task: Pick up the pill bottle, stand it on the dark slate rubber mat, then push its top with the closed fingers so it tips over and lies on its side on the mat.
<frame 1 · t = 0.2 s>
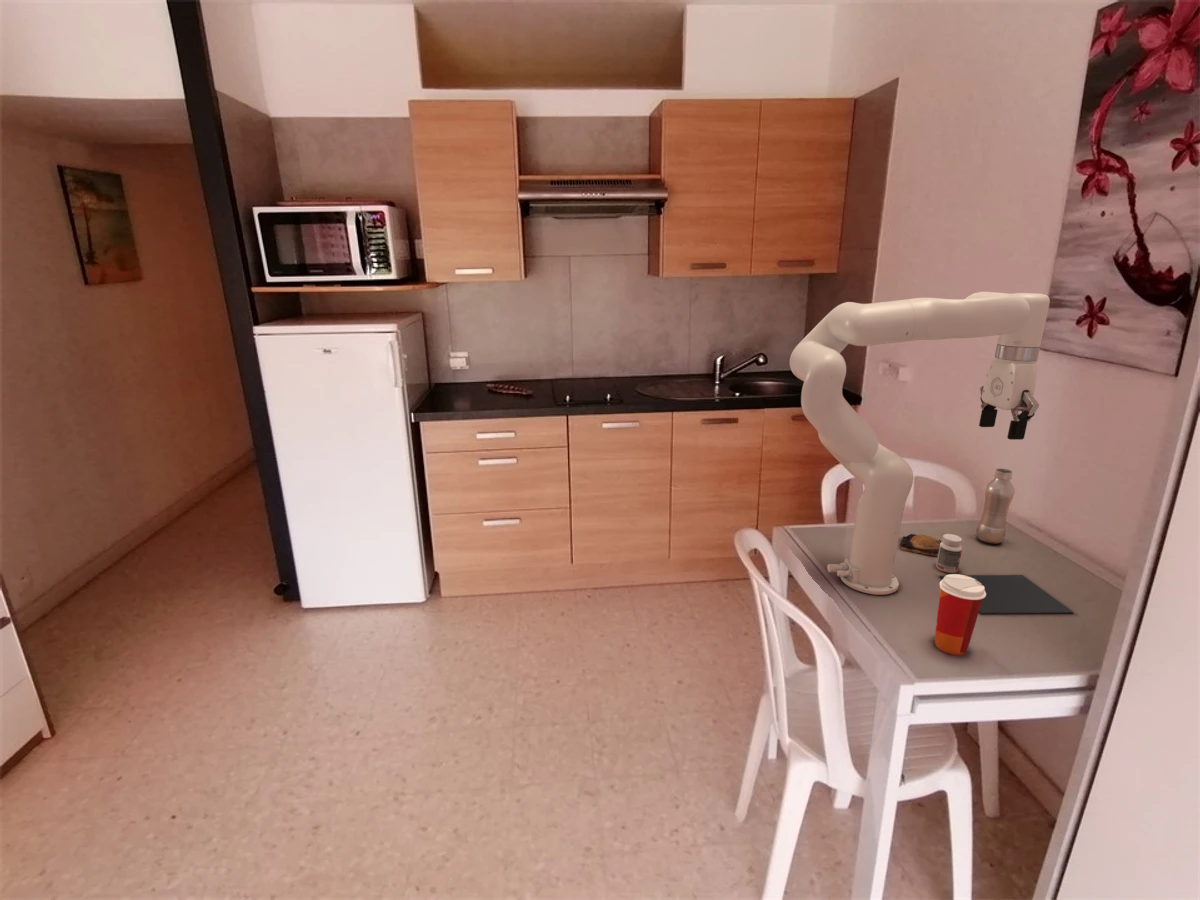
hand: (1000, 432, 133), 36 cm above the table, tool pointing down, fingers open, 9 cm apart
bread roll: (922, 548, 160), on the table
mat: (1002, 594, 138), on the table
pill bottle: (946, 569, 150), on the table
paper cup: (949, 647, 120), on the table
plastic bottle: (988, 541, 164), on the table
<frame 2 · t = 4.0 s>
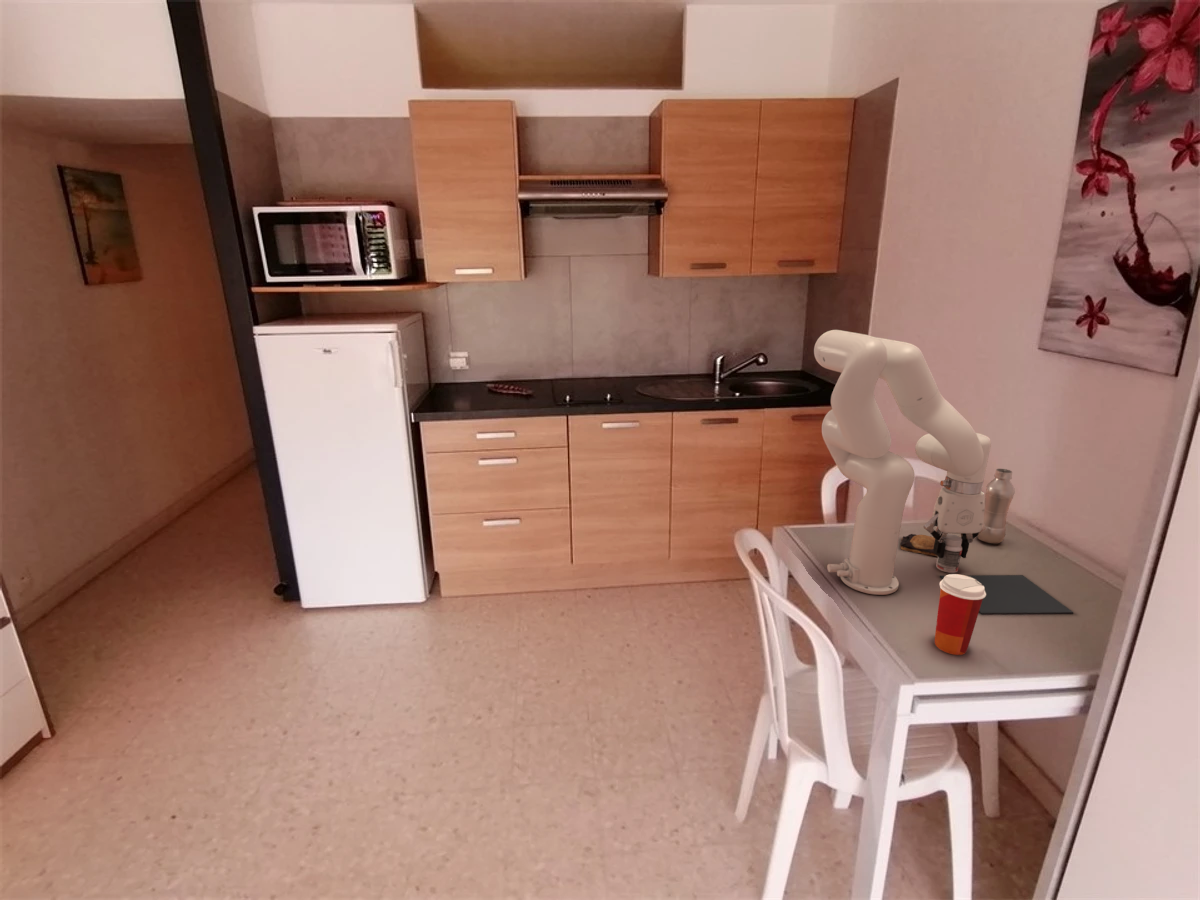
hand: (949, 554, 148), 4 cm above the table, tool pointing down, fingers closed on pill bottle, 4 cm apart
pill bottle: (946, 569, 150), on the table, touching gripper
everything else where it was.
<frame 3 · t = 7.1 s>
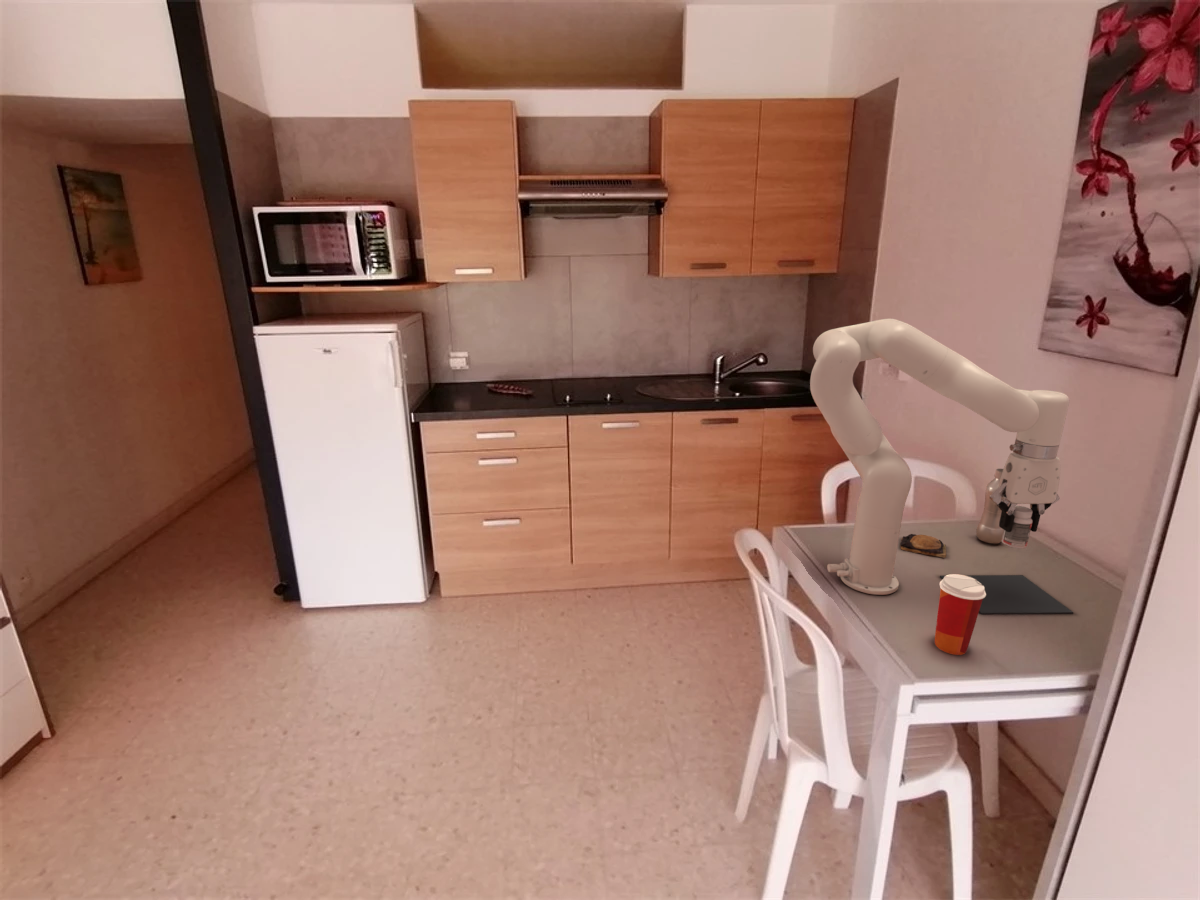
hand: (1017, 528, 133), 16 cm above the table, tool pointing down, fingers closed on pill bottle, 4 cm apart
pill bottle: (1013, 544, 135), point 12 cm above the table, touching gripper
everything else where it was.
when the fingers open (4 cm above the table, at t = 10.1 s): pill bottle stays where it is, resting on mat.
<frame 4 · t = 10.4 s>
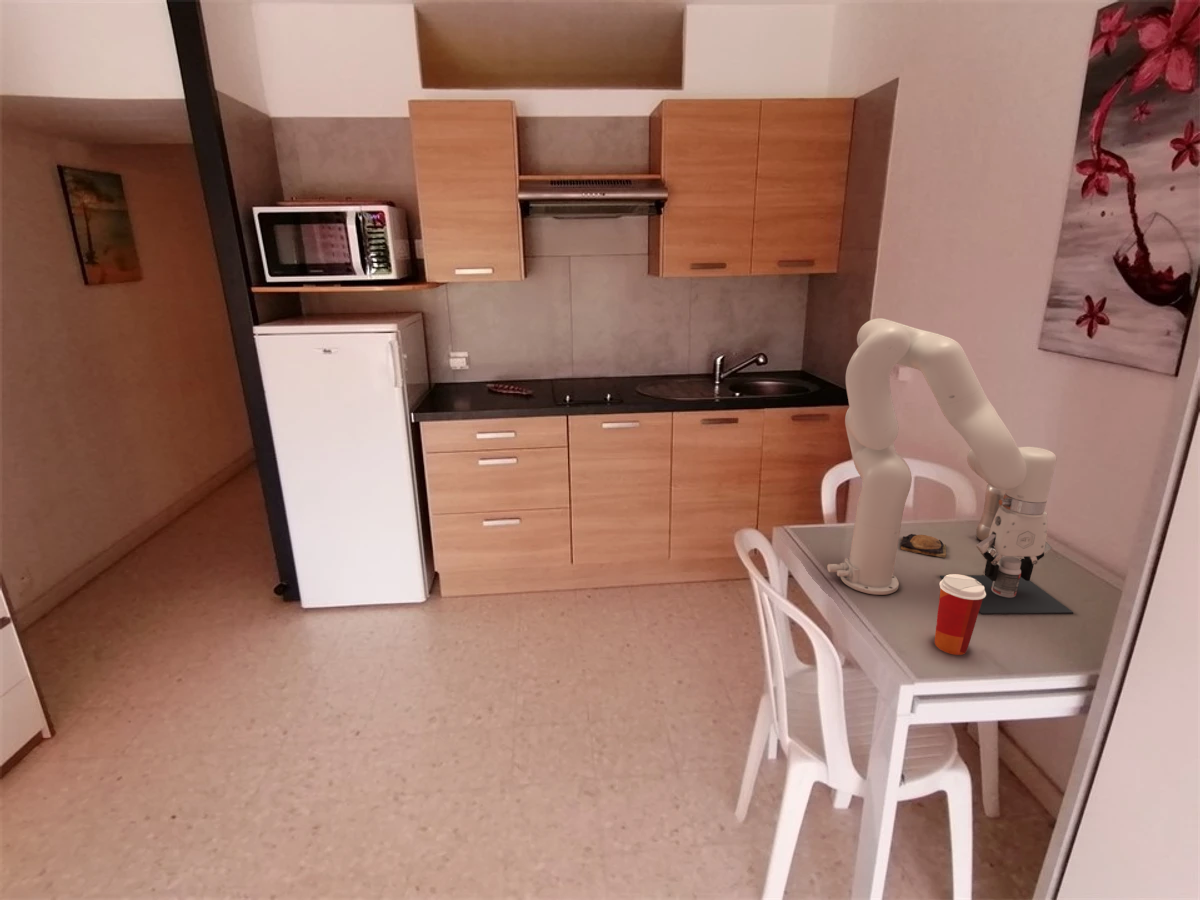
hand: (1006, 577, 137), 4 cm above the table, tool pointing down, fingers open, 6 cm apart
pill bottle: (1003, 593, 138), resting on mat
everything else where it was.
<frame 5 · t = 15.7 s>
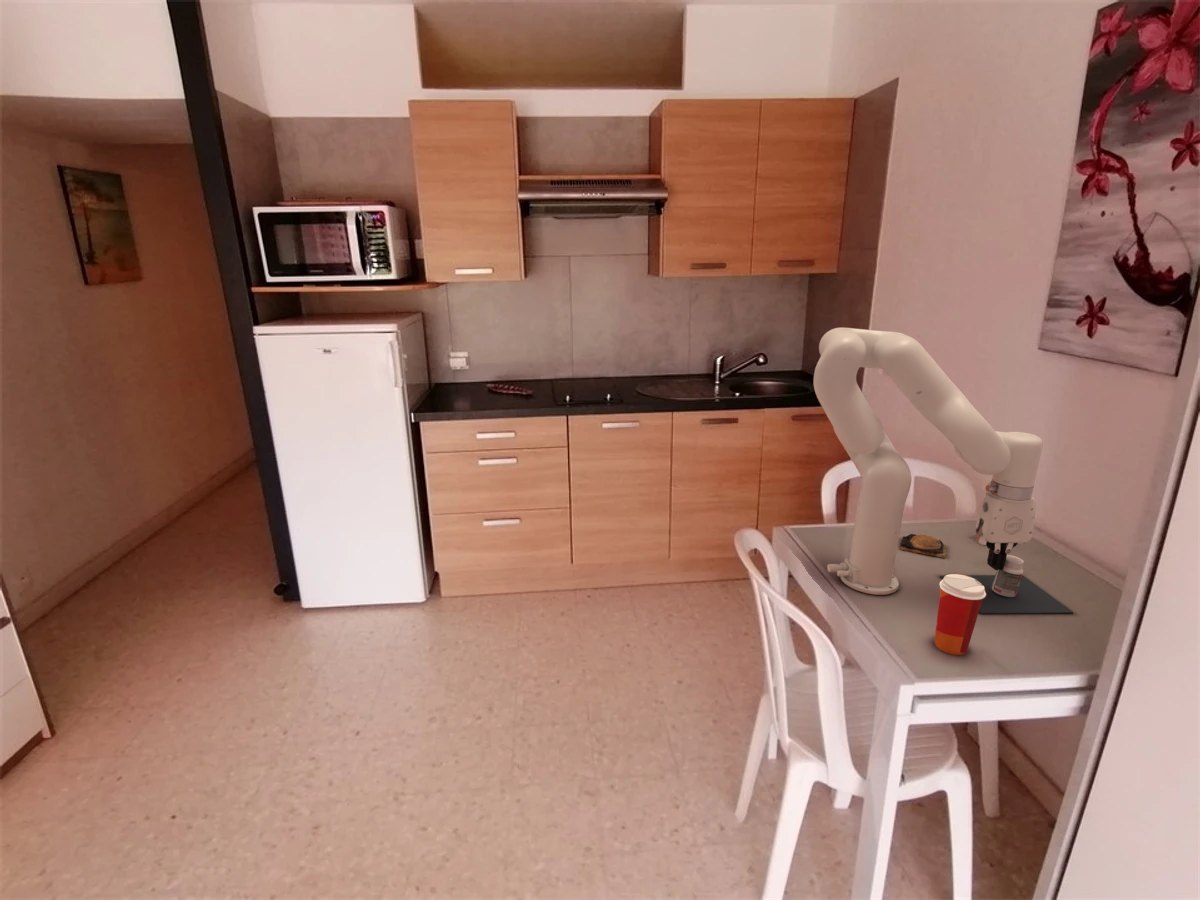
hand: (995, 567, 136), 7 cm above the table, tool pointing down, fingers closed
pill bottle: (1003, 592, 138), resting on mat, touching gripper
everything else where it was.
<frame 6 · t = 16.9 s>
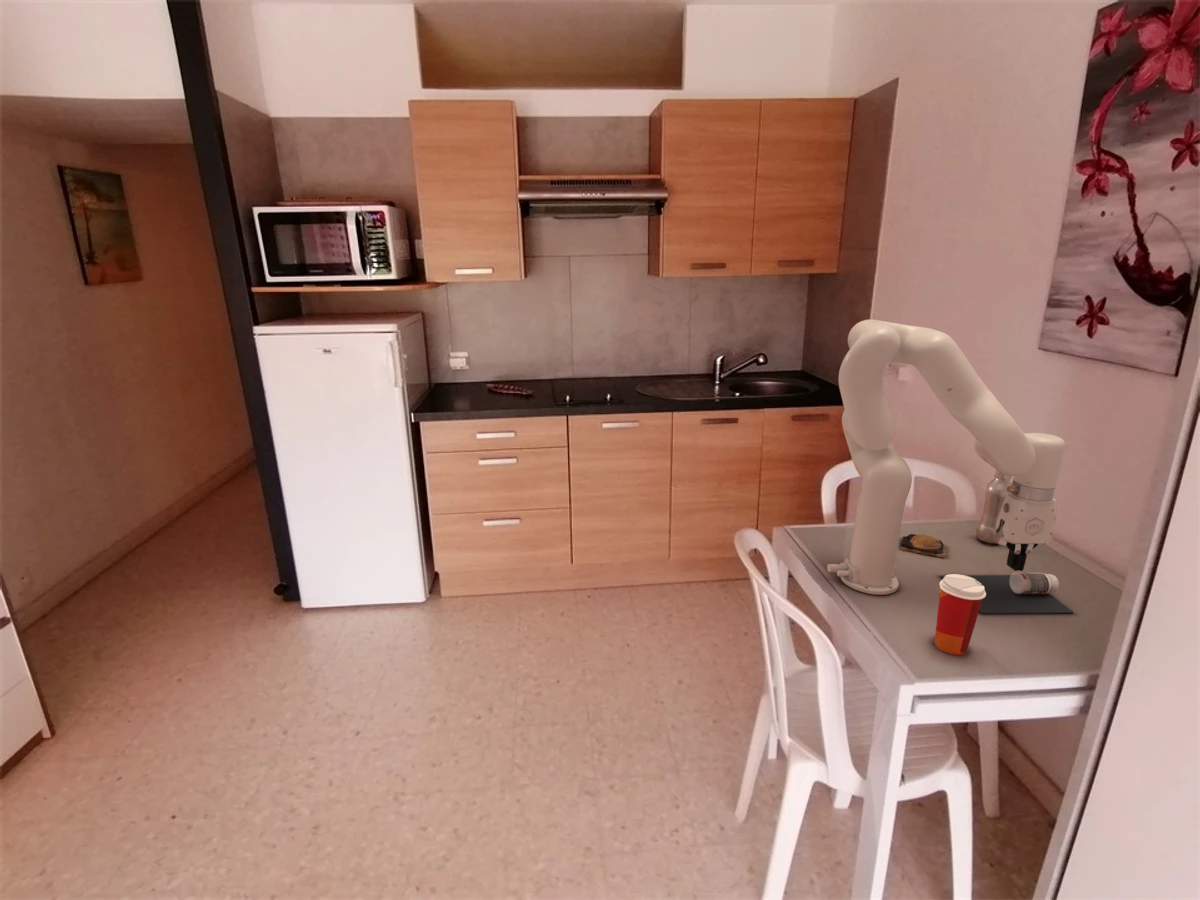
hand: (1014, 567, 136), 7 cm above the table, tool pointing down, fingers closed
pill bottle: (1014, 583, 138), point 3 cm above the table, touching mat
everything else where it was.
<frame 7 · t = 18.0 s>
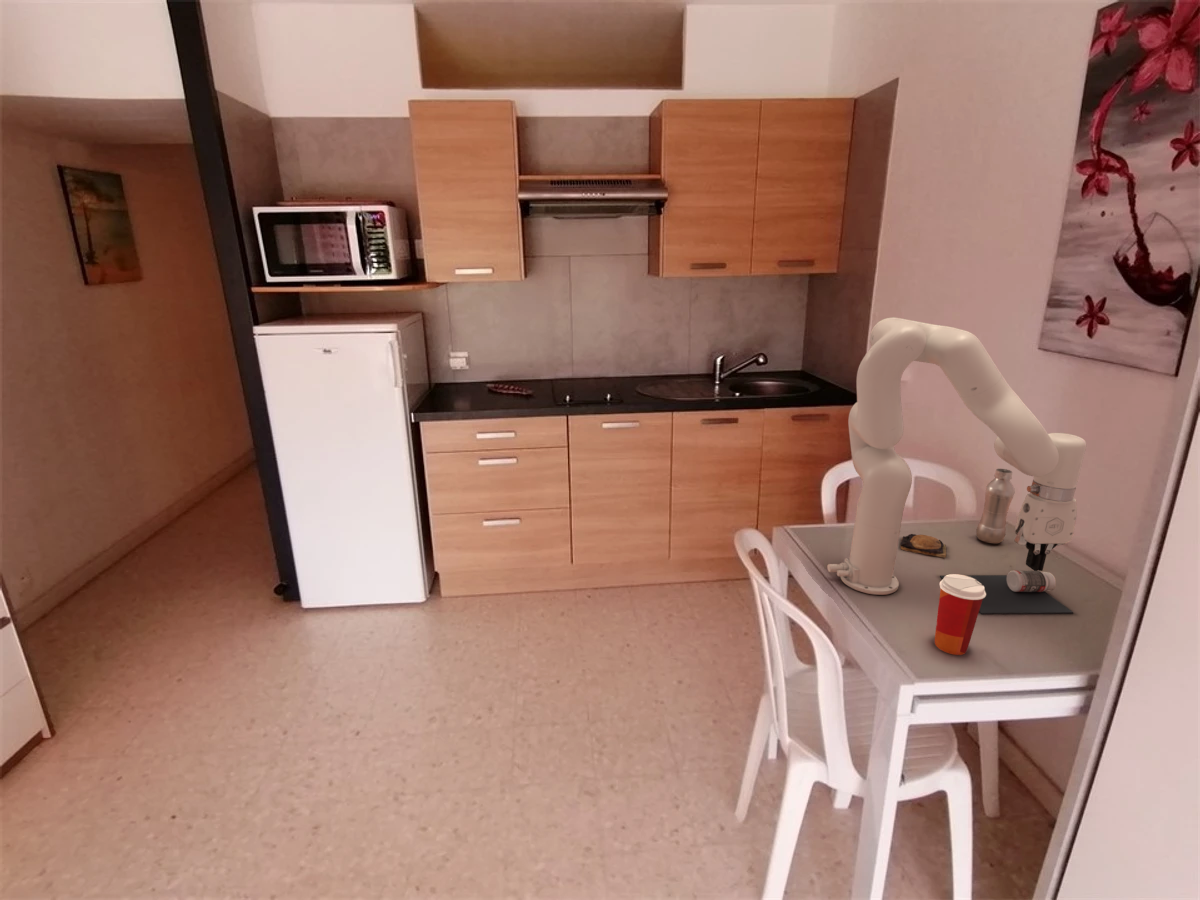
hand: (1033, 567, 136), 7 cm above the table, tool pointing down, fingers closed
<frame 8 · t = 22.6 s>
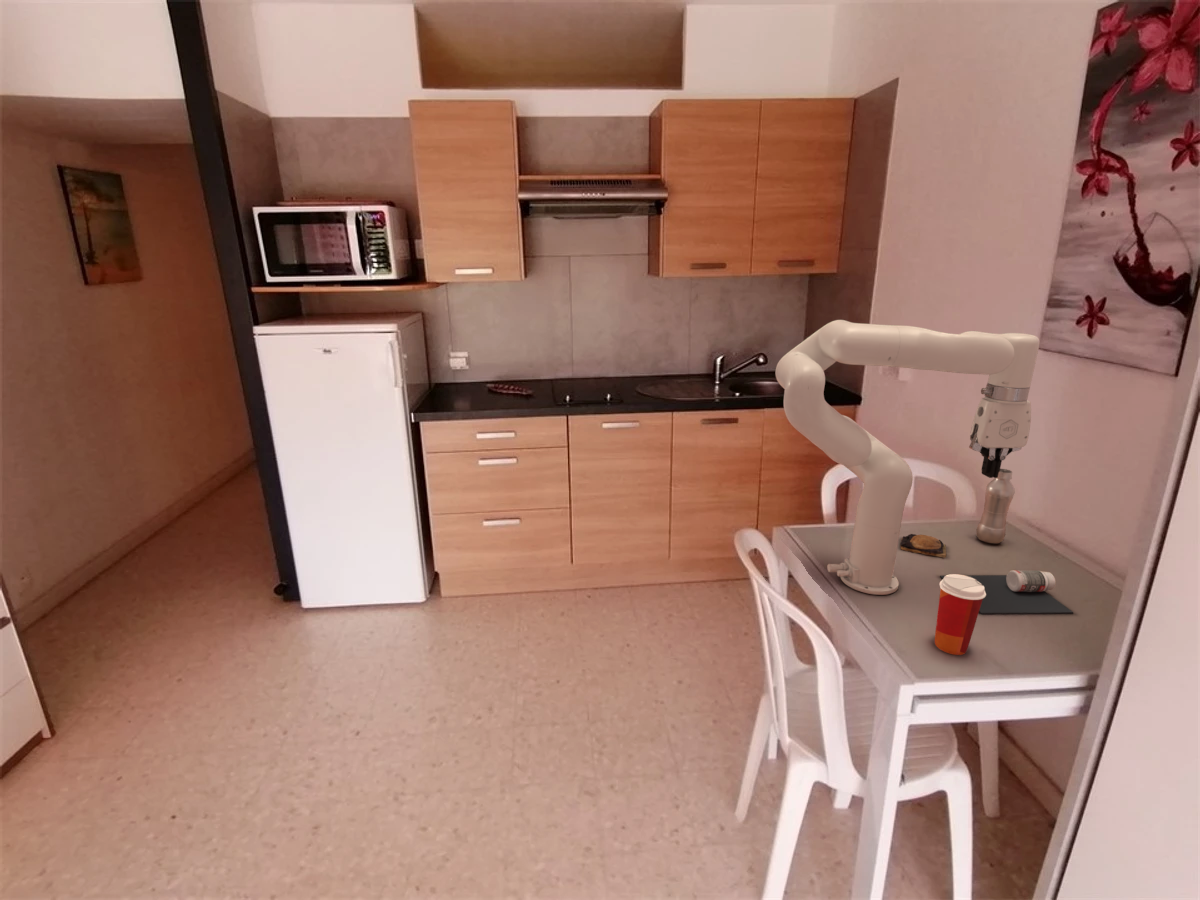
hand: (989, 475, 134), 27 cm above the table, tool pointing down, fingers closed
at the end: pill bottle tilted 90°; pill bottle inside the target area (3.0 cm from its centre), point 2.7 cm above the table; the gripper is holding nothing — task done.
